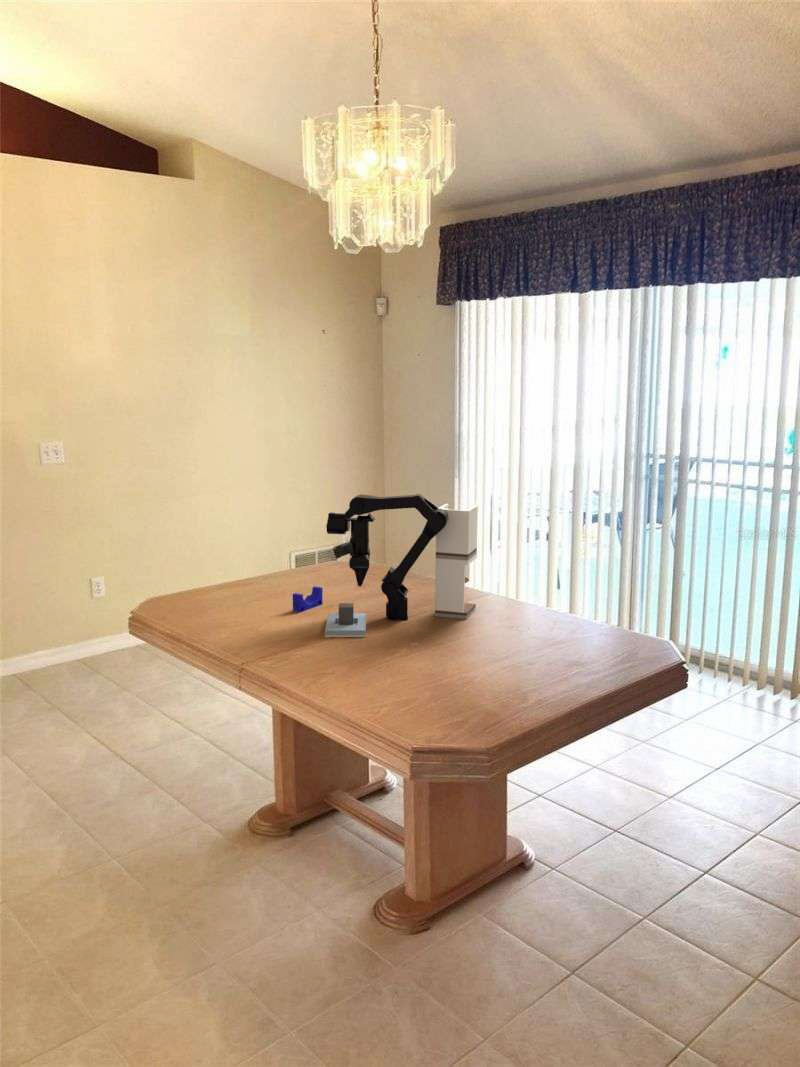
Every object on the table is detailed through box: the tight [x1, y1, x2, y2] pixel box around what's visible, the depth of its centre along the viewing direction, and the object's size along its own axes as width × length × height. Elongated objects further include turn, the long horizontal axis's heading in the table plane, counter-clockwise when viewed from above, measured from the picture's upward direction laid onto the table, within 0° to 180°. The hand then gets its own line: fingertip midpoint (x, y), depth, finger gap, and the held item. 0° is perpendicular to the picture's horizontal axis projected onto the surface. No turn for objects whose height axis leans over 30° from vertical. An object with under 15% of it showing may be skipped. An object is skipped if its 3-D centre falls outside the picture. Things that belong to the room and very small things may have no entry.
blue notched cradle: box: [292, 585, 323, 613], centre depth 290 cm, size 12×4×6 cm, turn 147°
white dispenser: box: [434, 503, 479, 620], centre depth 281 cm, size 11×11×35 cm
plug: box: [338, 602, 355, 625], centre depth 267 cm, size 4×4×7 cm
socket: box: [324, 612, 367, 638], centre depth 268 cm, size 12×18×2 cm, turn 1°
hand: (360, 582), depth 279 cm, fingers open, 9 cm apart
